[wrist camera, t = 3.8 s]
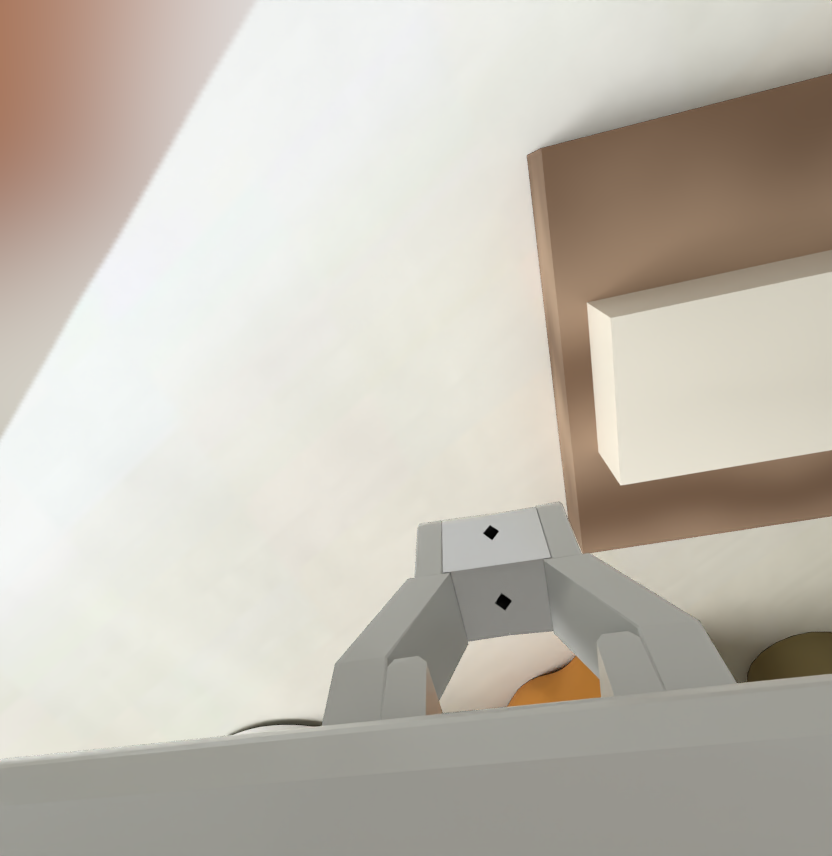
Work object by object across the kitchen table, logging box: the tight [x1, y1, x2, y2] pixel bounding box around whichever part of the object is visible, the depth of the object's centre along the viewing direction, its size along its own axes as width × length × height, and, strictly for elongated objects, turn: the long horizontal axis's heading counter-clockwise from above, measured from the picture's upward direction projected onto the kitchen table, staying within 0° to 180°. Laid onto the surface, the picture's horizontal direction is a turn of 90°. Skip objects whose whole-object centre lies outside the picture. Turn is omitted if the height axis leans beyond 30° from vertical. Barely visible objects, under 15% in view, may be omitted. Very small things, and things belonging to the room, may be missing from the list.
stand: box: [527, 74, 832, 554], centre depth 18 cm, size 16×14×2 cm
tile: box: [587, 250, 832, 485], centre depth 16 cm, size 6×9×2 cm, turn 103°
